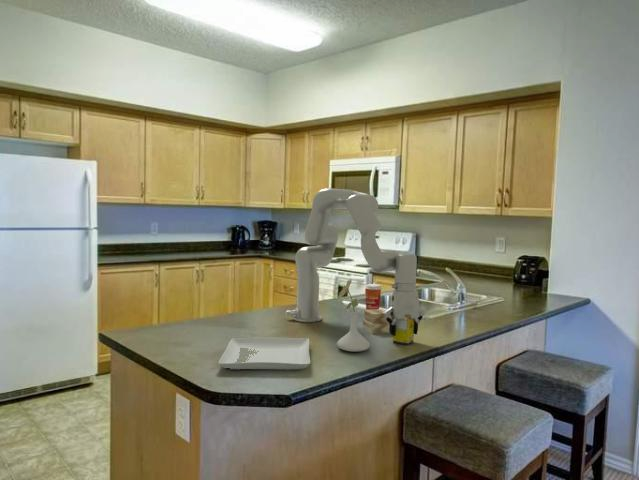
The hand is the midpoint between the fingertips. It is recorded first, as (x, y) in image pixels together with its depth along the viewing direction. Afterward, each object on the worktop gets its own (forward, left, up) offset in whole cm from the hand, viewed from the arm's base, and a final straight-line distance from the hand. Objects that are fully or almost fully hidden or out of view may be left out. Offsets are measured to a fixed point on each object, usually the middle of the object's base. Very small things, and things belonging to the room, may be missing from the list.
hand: (403, 334), depth 174 cm
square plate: (-52, -6, -4) cm, 52 cm away
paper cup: (+7, +42, -3) cm, 43 cm away
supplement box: (0, 0, -3) cm, 3 cm away
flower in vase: (-22, -4, -3) cm, 23 cm away
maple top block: (-2, +18, +1) cm, 18 cm away
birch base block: (-2, +18, -3) cm, 18 cm away
